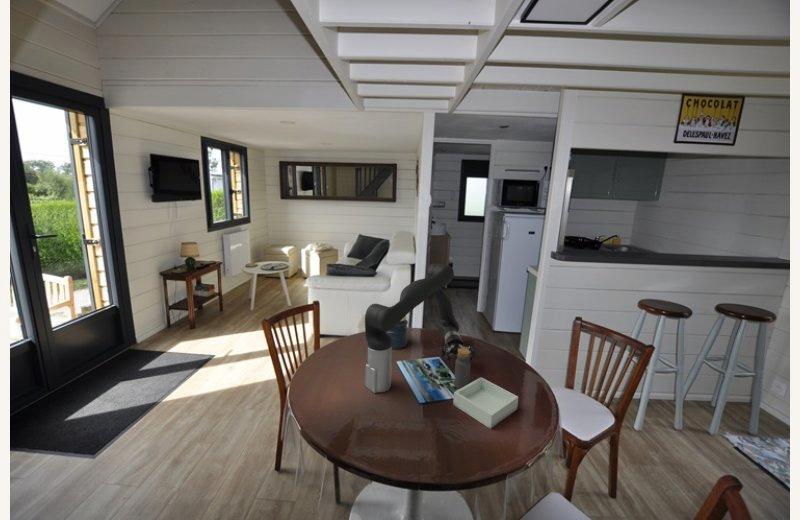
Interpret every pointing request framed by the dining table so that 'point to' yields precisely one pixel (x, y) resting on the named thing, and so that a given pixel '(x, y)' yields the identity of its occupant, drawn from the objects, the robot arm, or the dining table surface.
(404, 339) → the canister
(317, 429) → the dining table surface
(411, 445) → the dining table surface
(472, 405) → the bin
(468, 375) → the bottle
